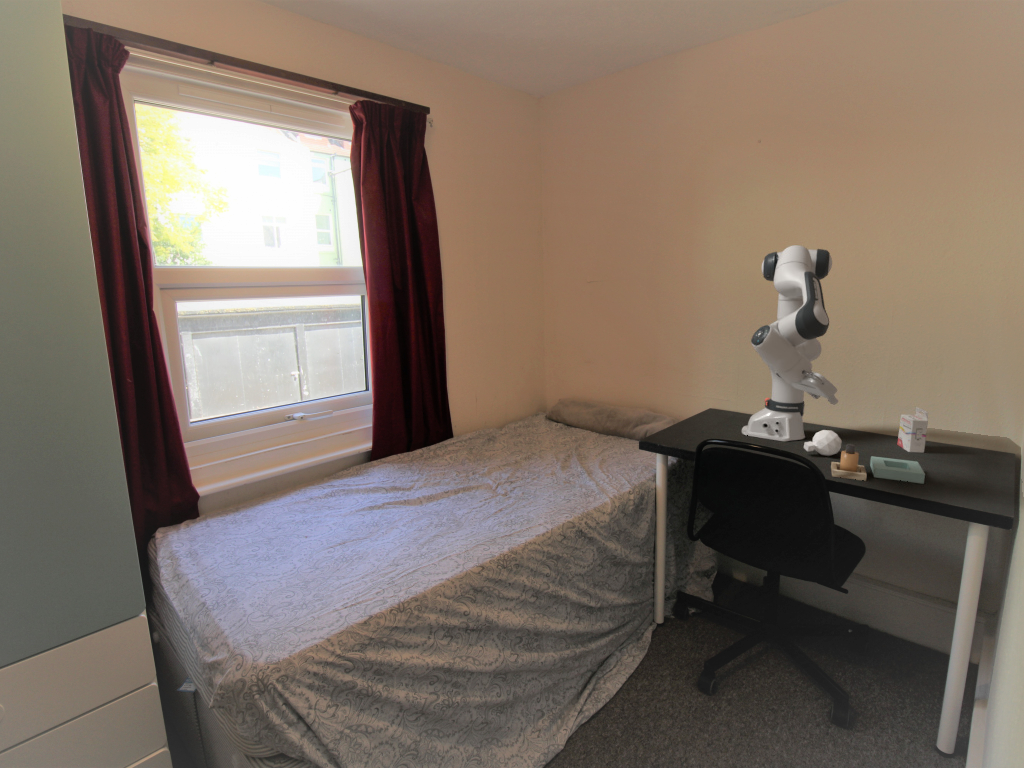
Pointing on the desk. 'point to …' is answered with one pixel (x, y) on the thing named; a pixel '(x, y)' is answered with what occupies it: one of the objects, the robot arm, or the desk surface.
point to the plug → (849, 459)
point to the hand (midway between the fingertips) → (826, 400)
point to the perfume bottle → (824, 443)
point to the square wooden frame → (848, 472)
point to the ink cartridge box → (913, 431)
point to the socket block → (897, 469)
